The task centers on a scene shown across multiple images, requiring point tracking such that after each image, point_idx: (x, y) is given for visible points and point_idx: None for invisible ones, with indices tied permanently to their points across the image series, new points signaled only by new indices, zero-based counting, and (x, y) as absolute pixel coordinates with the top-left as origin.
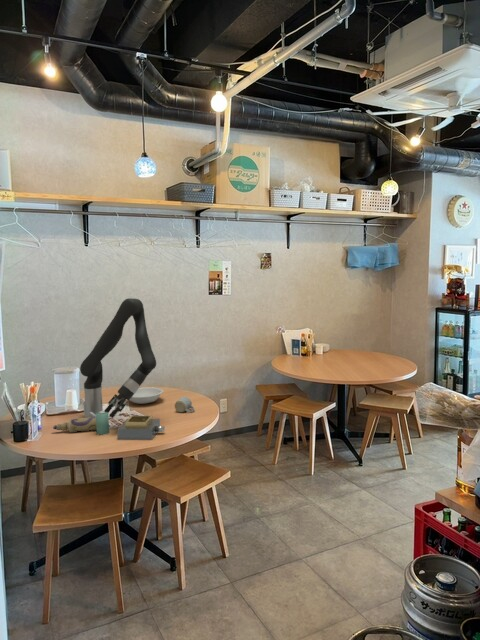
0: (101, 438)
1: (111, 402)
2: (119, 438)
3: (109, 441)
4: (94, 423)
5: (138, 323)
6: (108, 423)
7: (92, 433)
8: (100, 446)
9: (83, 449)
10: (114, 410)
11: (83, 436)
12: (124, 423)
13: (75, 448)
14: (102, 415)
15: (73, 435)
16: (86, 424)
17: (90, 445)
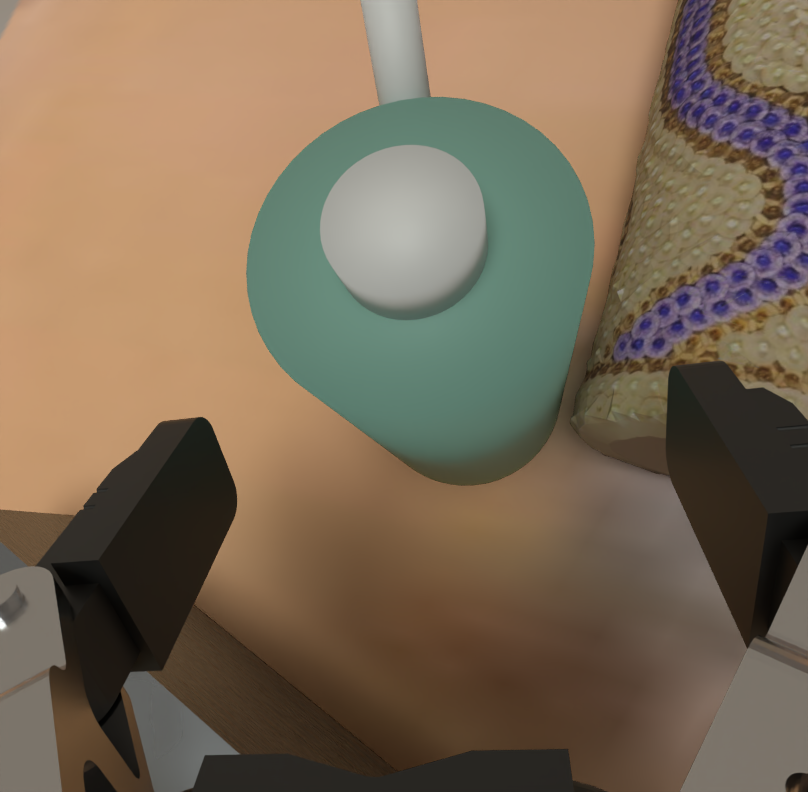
0: (251, 333)
1: (749, 655)
2: None
3: (87, 404)
4: (632, 234)
5: None
6: (387, 449)
7: None
8: (9, 281)
9: (47, 117)
10: (69, 567)
11: None
12: (169, 744)
13: (124, 49)
14: (250, 242)
15: (580, 29)
16: (660, 108)
17: (107, 188)
